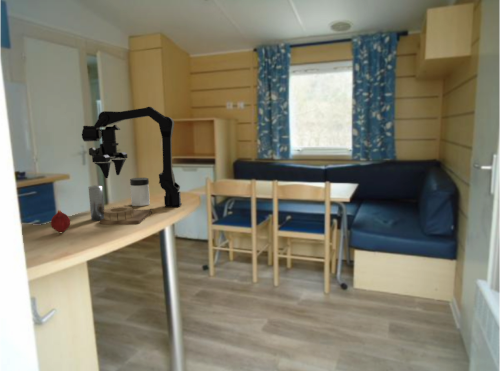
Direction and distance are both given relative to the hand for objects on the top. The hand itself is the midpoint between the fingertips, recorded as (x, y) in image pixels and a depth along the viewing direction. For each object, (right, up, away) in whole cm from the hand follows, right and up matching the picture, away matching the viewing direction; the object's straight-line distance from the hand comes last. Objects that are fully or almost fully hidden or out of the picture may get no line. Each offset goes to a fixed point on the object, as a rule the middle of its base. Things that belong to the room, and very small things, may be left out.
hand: (112, 176), depth 157 cm
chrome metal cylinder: (+1, -17, -17) cm, 24 cm away
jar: (+10, -13, +8) cm, 18 cm away
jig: (+12, -17, -16) cm, 26 cm away
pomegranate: (-4, -20, -35) cm, 41 cm away
